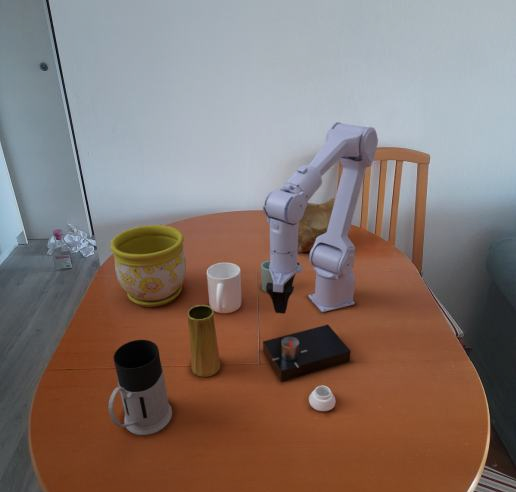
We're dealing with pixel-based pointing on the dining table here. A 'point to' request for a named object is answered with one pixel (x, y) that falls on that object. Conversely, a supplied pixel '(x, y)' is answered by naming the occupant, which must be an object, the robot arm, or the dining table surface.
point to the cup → (265, 275)
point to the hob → (308, 352)
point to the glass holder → (141, 388)
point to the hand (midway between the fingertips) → (283, 302)
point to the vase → (203, 341)
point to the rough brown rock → (313, 224)
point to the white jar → (322, 399)
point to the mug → (224, 287)
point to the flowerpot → (150, 263)
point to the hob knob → (290, 348)
